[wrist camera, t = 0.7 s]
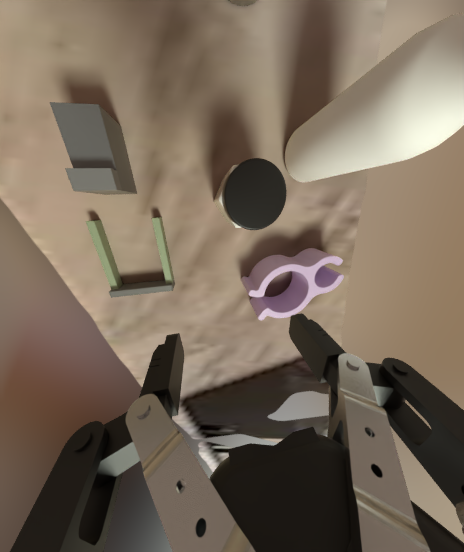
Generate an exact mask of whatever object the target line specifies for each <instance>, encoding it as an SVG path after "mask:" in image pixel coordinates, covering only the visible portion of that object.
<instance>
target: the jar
mask: <svg viewBox="0 0 464 552" xmlns="http://www.w3.org/2000/svg"><path fill="white" fill-rule="evenodd" d="M285 201H286V184H285V180H284V177H283V175H282V173H281V172H280V170H279V169H278V168H277V167H276V166H275V165H274V164H273V163H271V162H270V161H267V160H265V159H260V158H254V159H249V160H246V161H244V162H242V163H240V164H239V165H233V166H232V167H231V169H230V170H229V171H228V172H227V174H226V175H225V176H224V178H223V180H222V183H221V185H220V187H219V190H218V192H217V194H216V197H215V199H214V203H215V204H216V206H217V207H218V209H219V211H220V212H221V214H222V215H223V217H224V218H225V220H226V222H228V223H229V224H231V225H232V226H234V227H236V228H245V229H248V230H259V229H263V228H265V227H267V226H269V225H270V224H272V223H273V222H274V221H275V220H276V219H277V218H278V217H279V215H280V214H281V212H282V210H283V208H284V205H285Z"/></svg>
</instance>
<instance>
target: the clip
mask: <svg viewBox="0 0 464 552" xmlns="http://www.w3.org/2000/svg"><path fill="white" fill-rule="evenodd" d="M327 263H333V264H335V265H340V264H341V263H342V259H341V258H339V257H336V256H334V255H331V254H328V253H326V252H323V251H320V250H318V249H315V248H308V249H305V250H303V251H301V252H300V253H299V254H297V255H296V256H294V257H287V256H284V255H271V256H268V257H266V258H264V259H262V260H261V261H259V262H258V263H257V264H256V265H255V266H254V268H253V269H252V271H251V273H250V276H249V277H242V278H241V281H242V283H243V285H244V287H245V289H246V290H247V292H248V294H249V296H252V298H251V300H250V303H251V305H252V307H253V309H254V311H255V313H256V315H257V317H258V319H259V320H263V319H264V318H265V317H266V316H271V317H274V318H285V317H289V316H292V315H294V314H296V313H298V312H299V311H301V310H302V309H303V308H304V307H305V306H306V305H307V304H308V303H309V301H310V300H311V299H312V298H313V297H314V296H316V295H318V294H322V293H327V292H329V291H331V290H333V289H334V288H336V287H337V286H338V285H339V284H340V282H341V281H342V279H343V277H344V276H343V275H342V274H340V273H338V272H336V271H334V270H331V269H329V268H327V267H325V266H323V265H325V264H327ZM287 271H292V280H291V283H290V285H289V287H288V288H287V289H286V290H285V291H284V292H283V293H281V294H280V295H277V296H274V297H266V296H264V294H265V290H266V287H267V286H268V284H269V283H270V281H271V280H272V279H273V278H275V277H276V276H277V275H279V274H281V273H284V272H287Z"/></svg>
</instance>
